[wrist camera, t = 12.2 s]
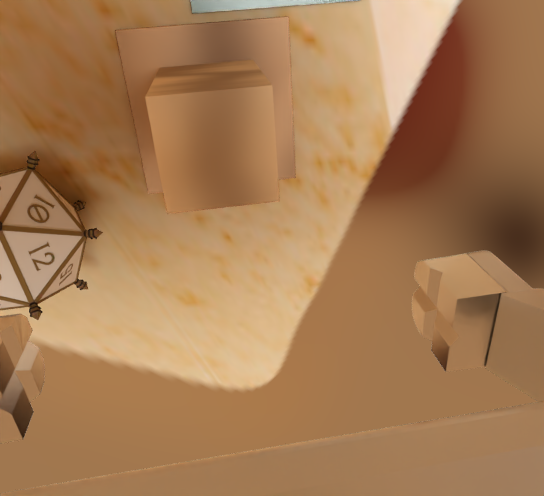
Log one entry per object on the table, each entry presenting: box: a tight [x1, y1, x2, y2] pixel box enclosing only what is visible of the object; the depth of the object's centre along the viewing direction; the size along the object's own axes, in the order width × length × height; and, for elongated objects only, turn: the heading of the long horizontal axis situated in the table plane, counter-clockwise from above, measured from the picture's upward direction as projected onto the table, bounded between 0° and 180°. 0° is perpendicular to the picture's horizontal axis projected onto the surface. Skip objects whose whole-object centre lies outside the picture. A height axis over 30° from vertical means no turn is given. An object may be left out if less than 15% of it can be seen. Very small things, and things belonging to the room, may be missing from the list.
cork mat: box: [115, 16, 296, 194], centre depth 27 cm, size 9×9×1 cm
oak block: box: [145, 60, 279, 214], centre depth 23 cm, size 5×5×8 cm
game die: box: [0, 151, 103, 320], centre depth 25 cm, size 9×8×10 cm
